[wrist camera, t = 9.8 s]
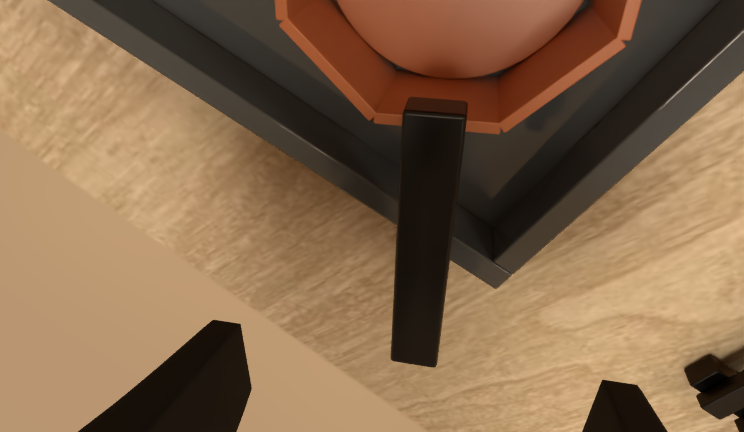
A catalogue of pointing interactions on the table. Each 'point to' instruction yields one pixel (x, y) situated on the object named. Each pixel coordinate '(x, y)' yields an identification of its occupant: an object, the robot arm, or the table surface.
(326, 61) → the pan
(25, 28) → the table surface
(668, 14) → the dark gray serving tray
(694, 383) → the drying rack
